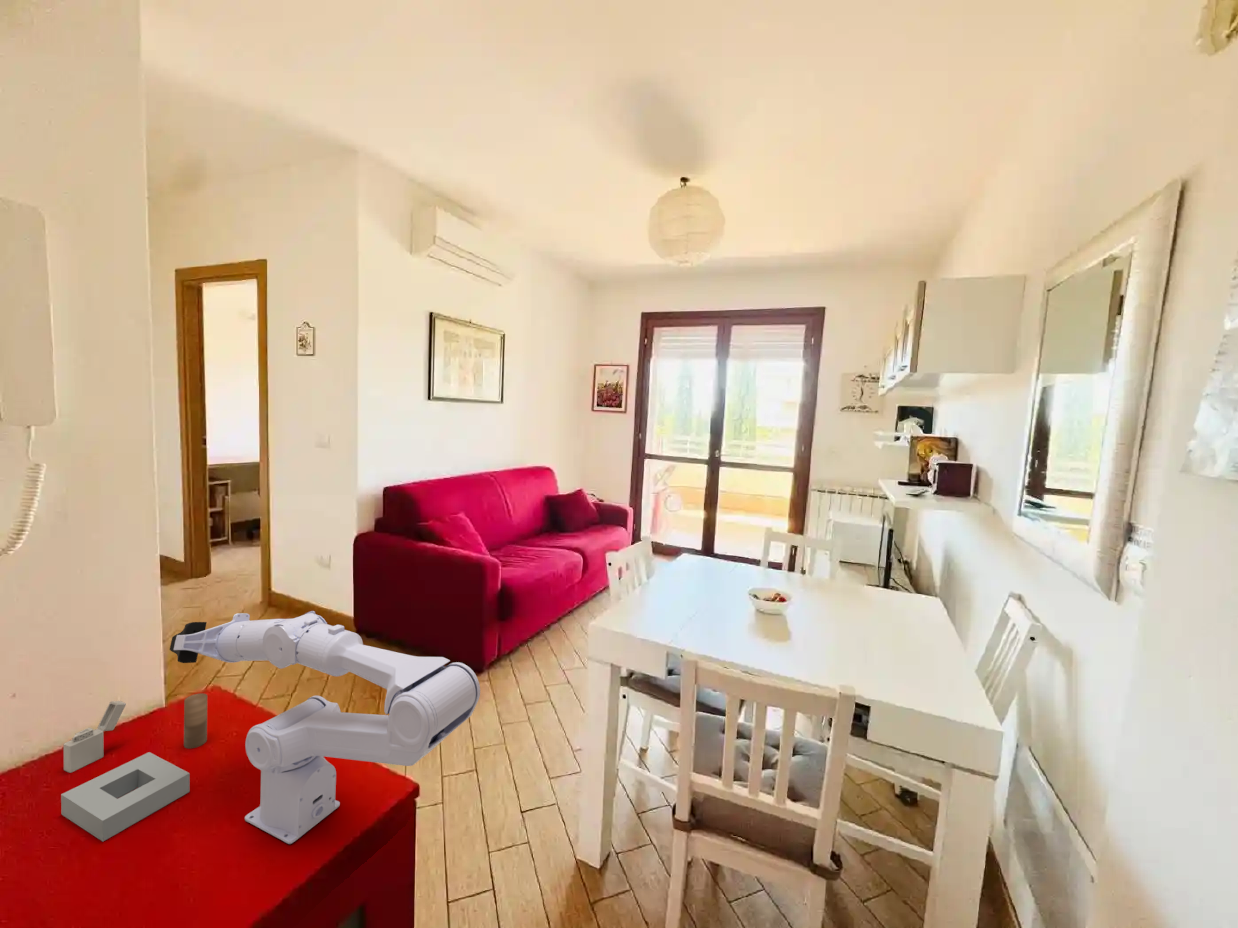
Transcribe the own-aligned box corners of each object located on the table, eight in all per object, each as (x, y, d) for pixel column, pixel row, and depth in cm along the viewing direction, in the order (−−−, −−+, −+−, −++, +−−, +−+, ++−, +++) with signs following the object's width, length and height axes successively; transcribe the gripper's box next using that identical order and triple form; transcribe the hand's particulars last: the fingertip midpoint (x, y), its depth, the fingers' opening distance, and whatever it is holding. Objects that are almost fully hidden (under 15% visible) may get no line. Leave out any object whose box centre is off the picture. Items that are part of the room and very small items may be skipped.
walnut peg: (210, 740, 88) (211, 696, 87) (191, 750, 85) (191, 705, 84) (199, 734, 89) (200, 691, 88) (179, 744, 86) (180, 700, 85)
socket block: (189, 791, 77) (189, 773, 76) (102, 841, 67) (102, 820, 67) (149, 769, 80) (149, 751, 80) (61, 814, 71) (61, 794, 70)
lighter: (70, 772, 78) (69, 723, 77) (63, 769, 79) (62, 720, 78) (126, 745, 85) (126, 699, 84) (119, 742, 85) (119, 697, 85)
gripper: (307, 612, 83) (254, 616, 88) (208, 610, 70) (153, 615, 76) (300, 659, 81) (246, 660, 86) (196, 665, 68) (140, 666, 73)
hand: (202, 642), depth 81 cm, fingers open, 7 cm apart
